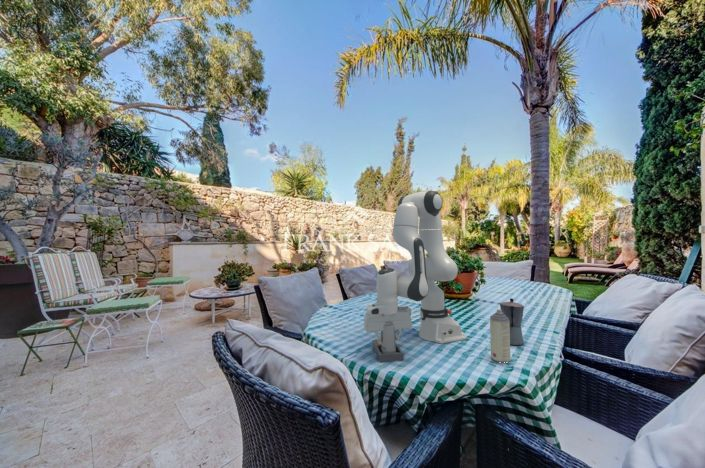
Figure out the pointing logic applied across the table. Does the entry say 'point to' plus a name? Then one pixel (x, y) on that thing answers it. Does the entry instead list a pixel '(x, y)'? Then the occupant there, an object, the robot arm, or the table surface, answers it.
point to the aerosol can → (500, 337)
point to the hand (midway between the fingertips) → (388, 340)
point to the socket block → (390, 356)
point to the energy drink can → (388, 338)
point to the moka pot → (514, 320)
